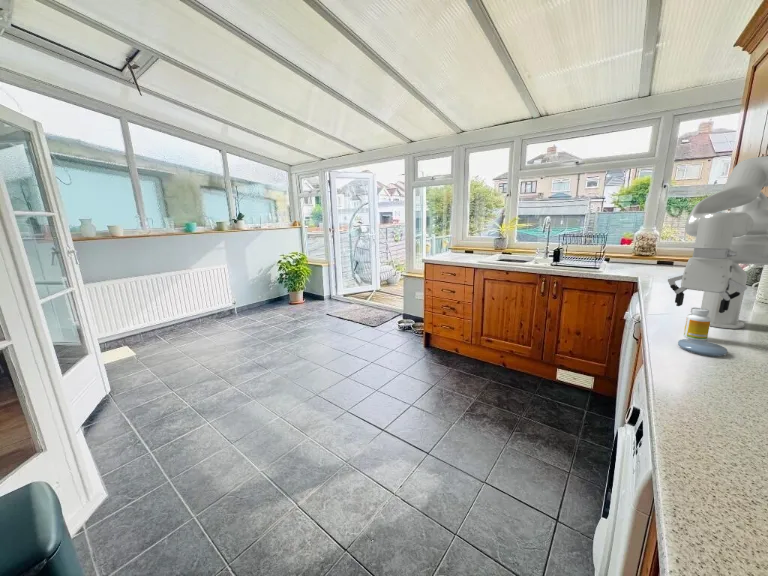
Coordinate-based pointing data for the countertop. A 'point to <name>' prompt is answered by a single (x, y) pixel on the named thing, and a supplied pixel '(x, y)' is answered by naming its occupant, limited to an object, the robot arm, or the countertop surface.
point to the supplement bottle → (697, 324)
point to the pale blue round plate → (702, 347)
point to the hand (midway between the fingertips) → (699, 308)
